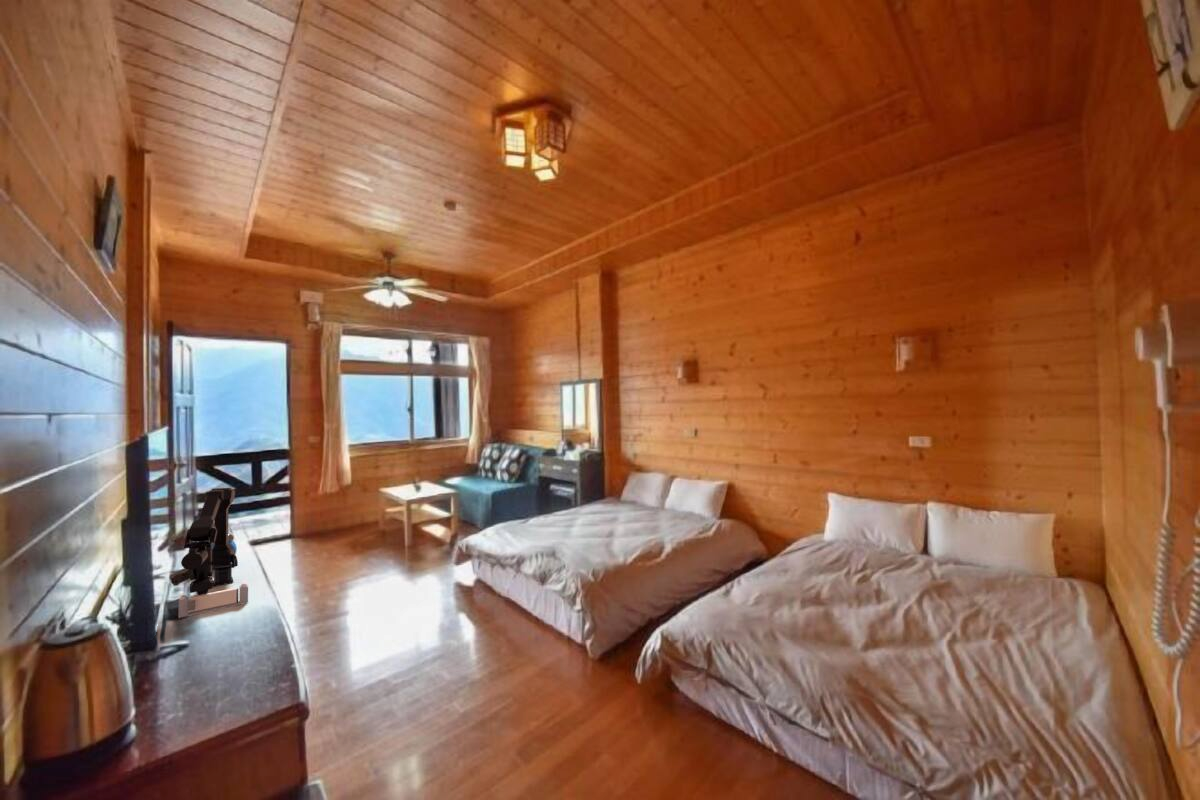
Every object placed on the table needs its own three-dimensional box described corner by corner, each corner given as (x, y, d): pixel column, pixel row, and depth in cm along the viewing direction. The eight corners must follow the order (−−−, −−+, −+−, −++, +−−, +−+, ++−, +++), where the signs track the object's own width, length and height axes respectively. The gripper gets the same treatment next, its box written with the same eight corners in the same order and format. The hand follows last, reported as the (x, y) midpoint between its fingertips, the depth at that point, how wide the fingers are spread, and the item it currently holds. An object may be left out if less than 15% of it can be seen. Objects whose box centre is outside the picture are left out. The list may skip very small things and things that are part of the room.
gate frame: (178, 615, 165) (178, 595, 165) (247, 600, 177) (247, 581, 177) (178, 618, 162) (178, 598, 162) (248, 603, 175) (248, 584, 175)
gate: (190, 611, 167) (190, 596, 167) (238, 601, 175) (238, 587, 175) (189, 612, 166) (189, 598, 165) (238, 602, 174) (238, 588, 174)
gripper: (173, 555, 171) (173, 597, 172) (169, 573, 157) (169, 618, 158) (212, 549, 179) (212, 589, 179) (212, 565, 164) (212, 609, 165)
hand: (201, 601), depth 170 cm, fingers closed
